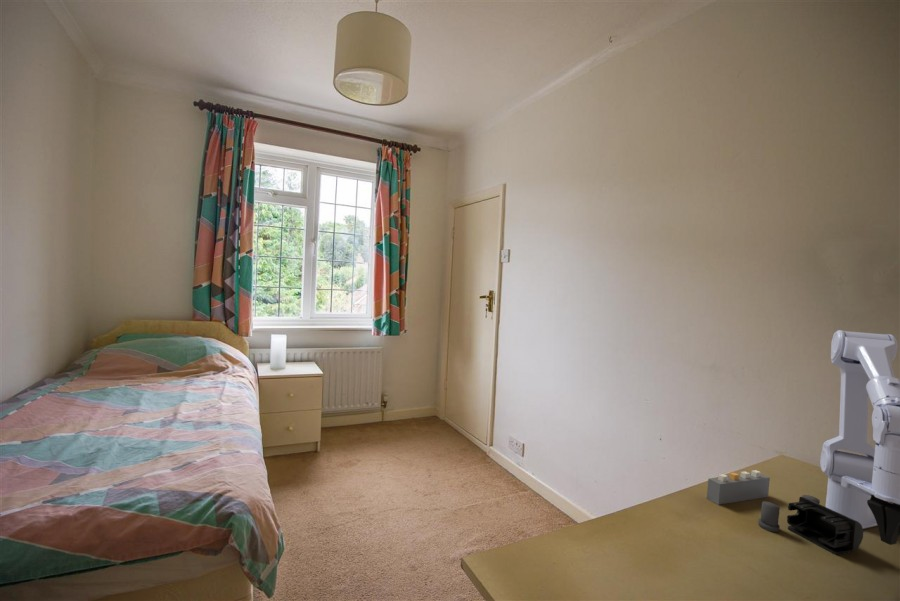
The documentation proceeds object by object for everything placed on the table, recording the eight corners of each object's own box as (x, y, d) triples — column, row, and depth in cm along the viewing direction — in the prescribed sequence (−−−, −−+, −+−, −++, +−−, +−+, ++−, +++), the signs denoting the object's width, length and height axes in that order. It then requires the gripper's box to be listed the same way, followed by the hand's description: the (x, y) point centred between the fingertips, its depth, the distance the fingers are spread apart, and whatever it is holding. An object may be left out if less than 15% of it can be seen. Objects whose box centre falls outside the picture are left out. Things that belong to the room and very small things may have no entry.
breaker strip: (755, 491, 106) (757, 467, 106) (768, 496, 104) (770, 472, 103) (706, 498, 100) (708, 473, 100) (718, 504, 97) (720, 479, 97)
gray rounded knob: (765, 521, 91) (767, 499, 91) (783, 531, 88) (785, 508, 88) (754, 523, 90) (756, 501, 90) (772, 533, 86) (774, 510, 86)
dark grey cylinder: (804, 514, 96) (806, 493, 96) (823, 522, 92) (825, 501, 92) (795, 516, 95) (797, 495, 95) (813, 524, 91) (815, 503, 91)
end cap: (862, 553, 82) (865, 520, 82) (838, 557, 80) (842, 523, 80) (806, 524, 91) (809, 495, 91) (783, 527, 89) (786, 497, 89)
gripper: (834, 456, 81) (828, 522, 81) (941, 491, 67) (933, 571, 68) (855, 453, 84) (849, 518, 84) (963, 487, 70) (955, 564, 70)
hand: (888, 542), depth 76 cm, fingers closed
